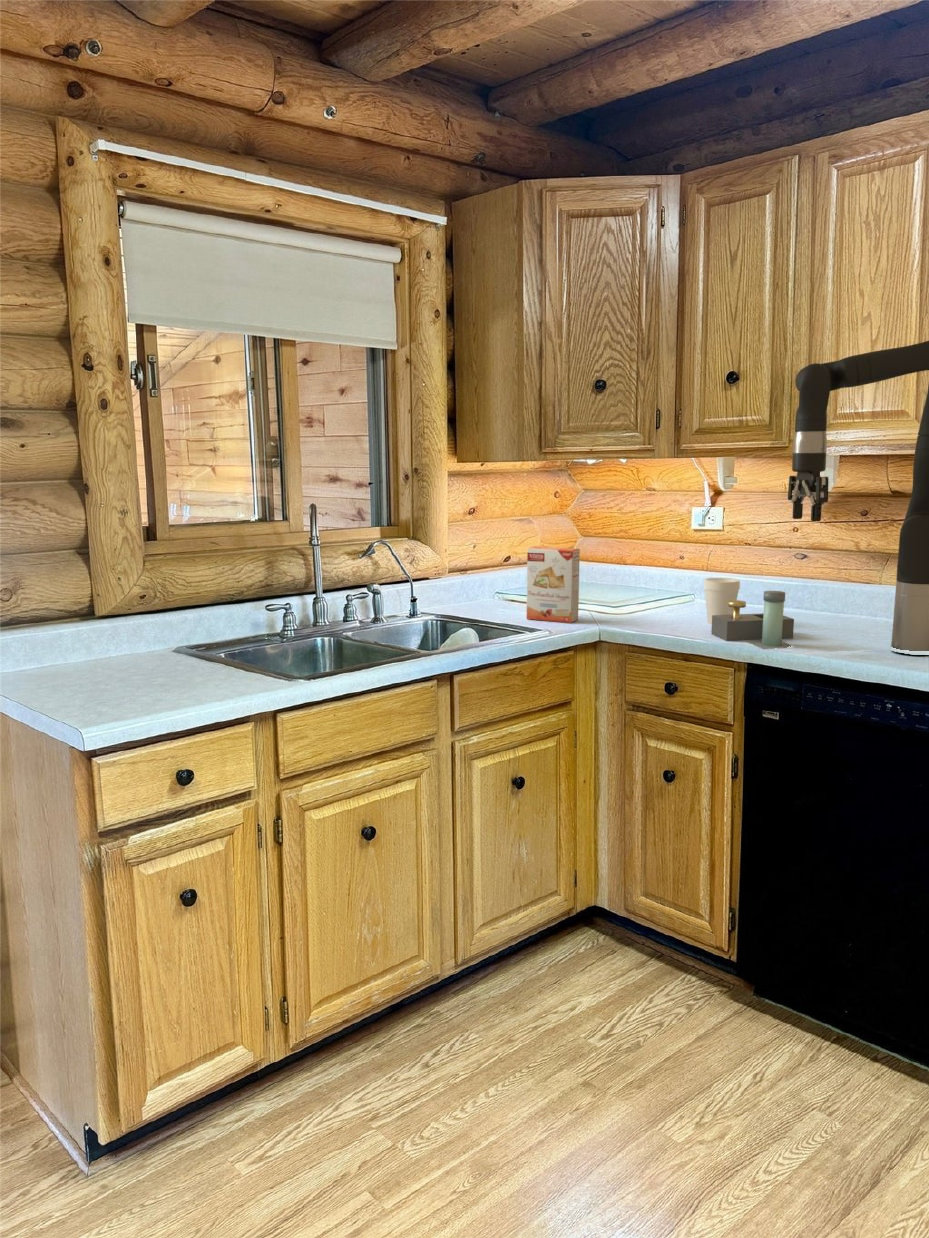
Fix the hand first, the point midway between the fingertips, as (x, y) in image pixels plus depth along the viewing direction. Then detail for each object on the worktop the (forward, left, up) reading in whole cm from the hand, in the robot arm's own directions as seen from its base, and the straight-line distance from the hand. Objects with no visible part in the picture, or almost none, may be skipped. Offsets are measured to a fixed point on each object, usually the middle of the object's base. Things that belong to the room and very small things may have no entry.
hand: (806, 520), depth 229 cm
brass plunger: (+10, -13, -31) cm, 35 cm away
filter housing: (+6, -13, -32) cm, 35 cm away
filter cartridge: (+6, -2, -31) cm, 31 cm away
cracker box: (+49, -50, -32) cm, 77 cm away
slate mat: (+6, -3, -32) cm, 32 cm away
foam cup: (+6, -32, -32) cm, 46 cm away
